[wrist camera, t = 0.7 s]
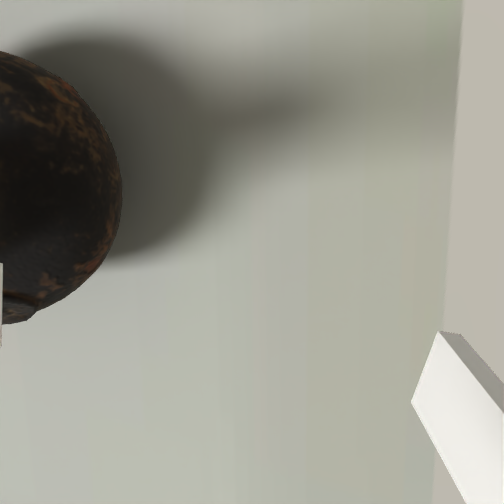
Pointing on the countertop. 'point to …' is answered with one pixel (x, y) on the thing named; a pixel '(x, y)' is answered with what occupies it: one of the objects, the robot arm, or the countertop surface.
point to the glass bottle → (51, 189)
